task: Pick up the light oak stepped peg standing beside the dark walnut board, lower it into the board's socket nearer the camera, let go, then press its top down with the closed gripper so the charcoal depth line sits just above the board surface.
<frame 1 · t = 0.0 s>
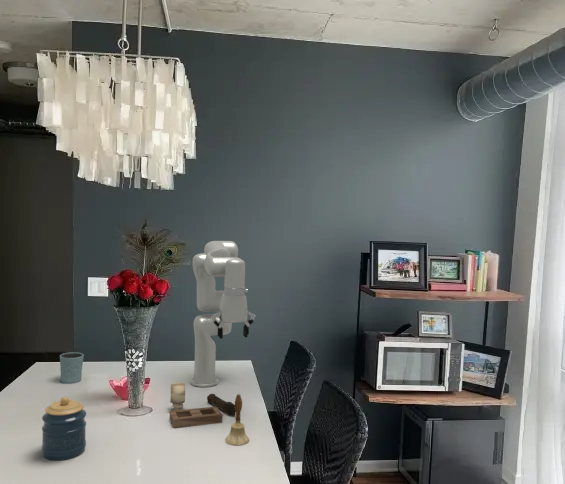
hand: (233, 337, 195), 31 cm above the table, tool pointing down, fingers open, 9 cm apart
hand bell: (237, 441, 177), on the table
grey embossed cup: (71, 381, 235), on the table
walnut board: (195, 420, 193), on the table
canister: (64, 452, 165), on the table
oak peg: (177, 409, 204), on the table
hand tool: (223, 410, 206), on the table
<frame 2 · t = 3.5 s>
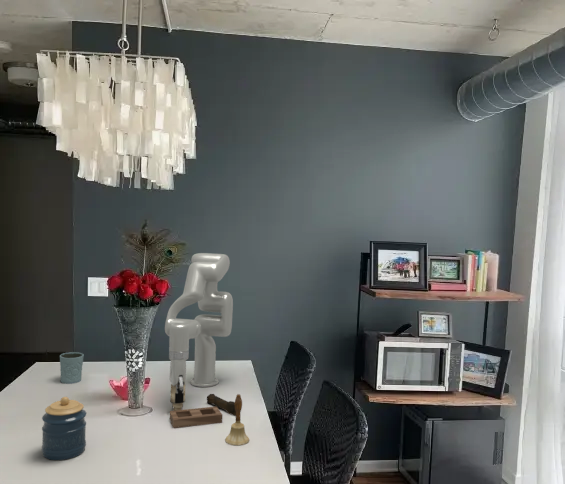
hand: (177, 399, 204), 4 cm above the table, tool pointing down, fingers closed on oak peg, 5 cm apart
oak peg: (177, 409, 204), on the table, touching gripper
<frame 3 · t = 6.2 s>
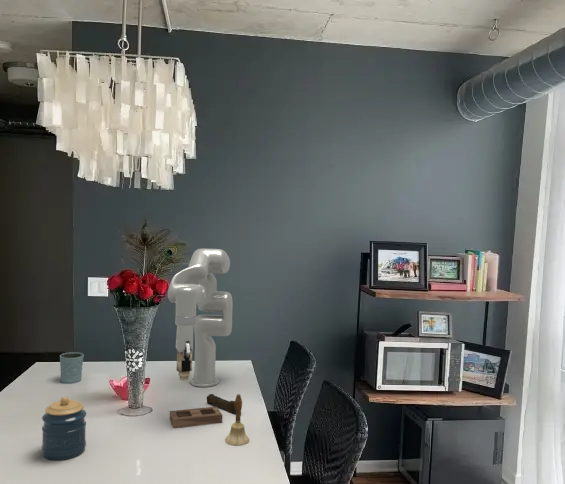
hand: (184, 368, 191), 20 cm above the table, tool pointing down, fingers closed on oak peg, 5 cm apart
oak peg: (184, 379, 192), point 16 cm above the table, touching gripper
when the fingers open (4 cm above the table, at t = 9.0 s): oak peg stays where it is, resting in walnut board.
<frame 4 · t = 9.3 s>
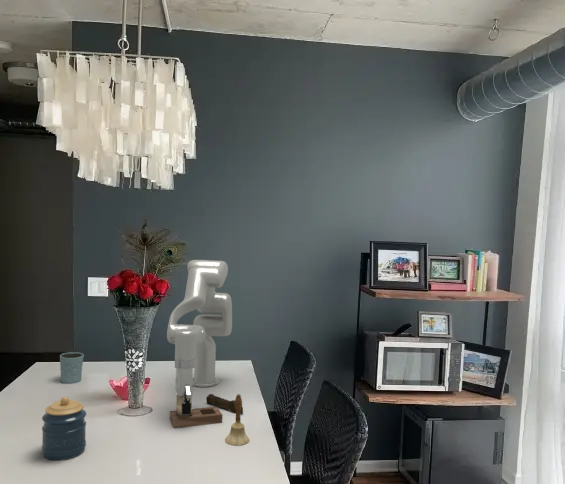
hand: (183, 409, 192), 5 cm above the table, tool pointing down, fingers open, 8 cm apart
oak peg: (183, 422, 192), resting in walnut board
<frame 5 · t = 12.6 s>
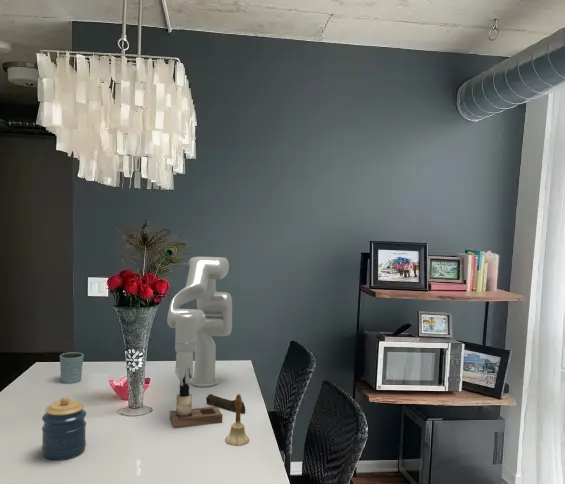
hand: (184, 395, 191), 10 cm above the table, tool pointing down, fingers closed
oak peg: (183, 422, 192), resting in walnut board, touching gripper
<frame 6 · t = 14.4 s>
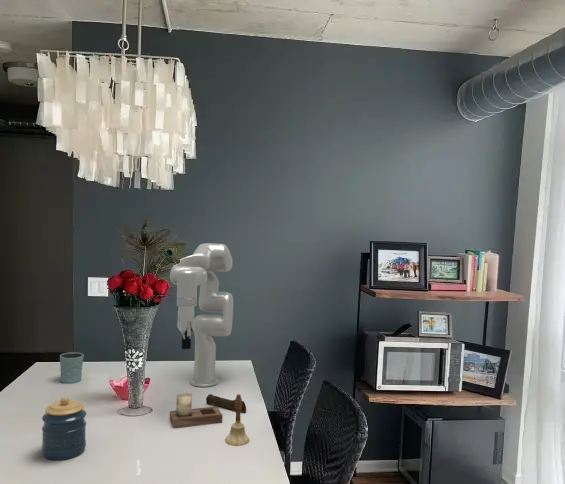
hand: (186, 348, 200), 25 cm above the table, tool pointing down, fingers closed
oak peg: (183, 422, 192), resting in walnut board
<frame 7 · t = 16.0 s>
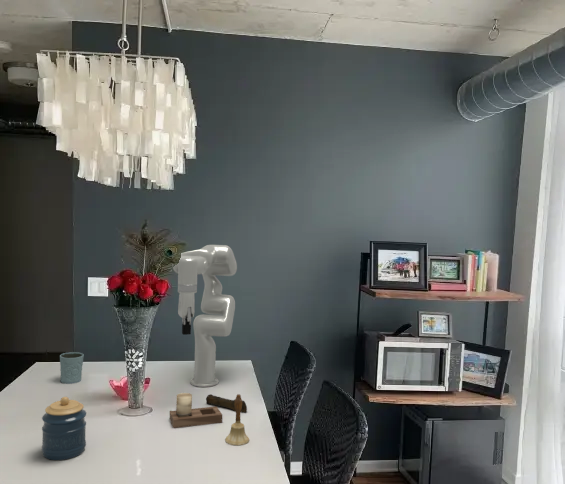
hand: (186, 333, 208), 29 cm above the table, tool pointing down, fingers closed
at the end: oak peg 0.1 cm from the target spot on the walnut board, point 0.0 cm above the walnut board's base; oak peg tilted 0°; the gripper is holding nothing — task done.
